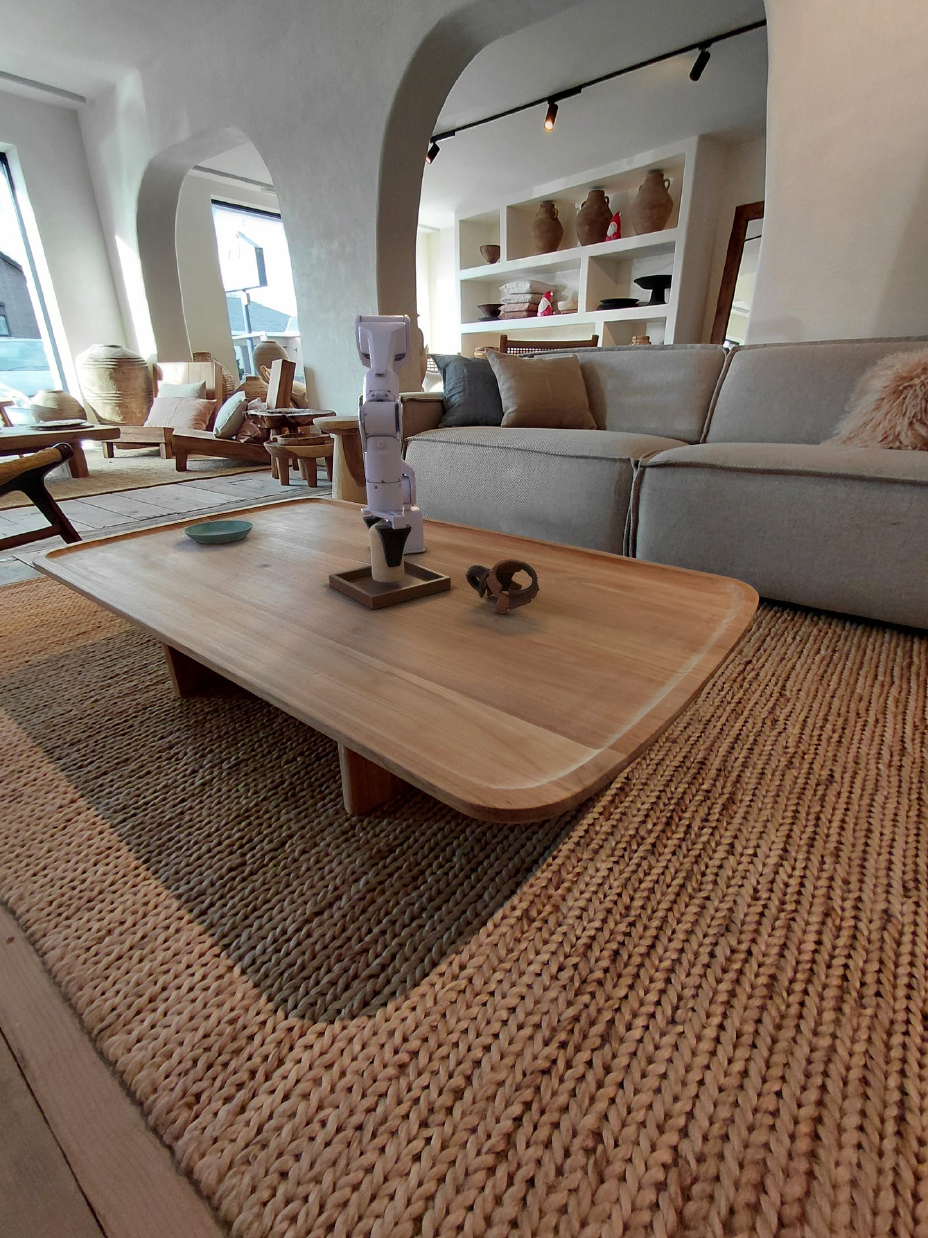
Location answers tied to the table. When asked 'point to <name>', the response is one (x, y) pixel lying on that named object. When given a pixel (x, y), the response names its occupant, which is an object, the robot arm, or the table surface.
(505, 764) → the table surface
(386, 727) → the table surface
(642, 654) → the table surface
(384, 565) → the candle
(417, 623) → the table surface
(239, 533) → the saucer
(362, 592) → the tray
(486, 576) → the leather belt
